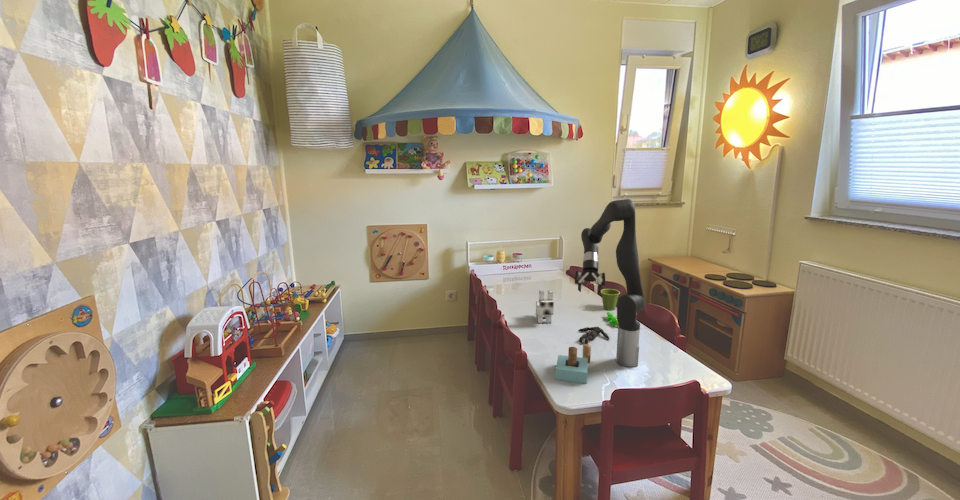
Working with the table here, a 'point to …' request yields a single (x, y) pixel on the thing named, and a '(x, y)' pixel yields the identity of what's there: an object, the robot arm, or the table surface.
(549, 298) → the toy llama
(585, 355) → the short pin
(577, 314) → the table surface
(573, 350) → the long pin
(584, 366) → the hole block
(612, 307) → the plant pot
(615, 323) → the green lumpy elongated piece
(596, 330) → the dark grey sprawling piece
